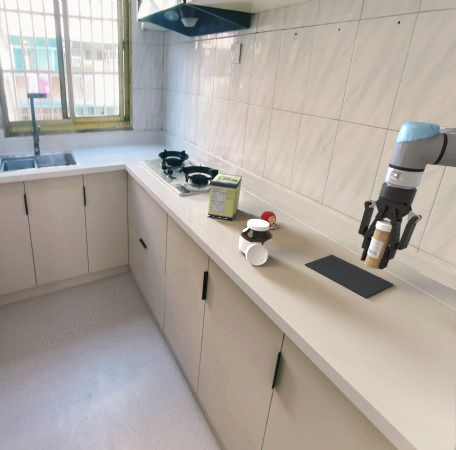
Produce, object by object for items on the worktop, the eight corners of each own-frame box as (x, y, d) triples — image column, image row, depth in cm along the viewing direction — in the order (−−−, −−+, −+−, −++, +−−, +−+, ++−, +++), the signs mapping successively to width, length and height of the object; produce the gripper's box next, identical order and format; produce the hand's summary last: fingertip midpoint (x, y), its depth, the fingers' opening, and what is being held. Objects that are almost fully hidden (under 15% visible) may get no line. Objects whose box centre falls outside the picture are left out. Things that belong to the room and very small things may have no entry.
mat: (393, 285, 99) (394, 283, 99) (366, 298, 92) (366, 297, 92) (331, 255, 115) (332, 254, 115) (304, 265, 108) (304, 263, 108)
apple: (280, 226, 137) (283, 211, 134) (272, 231, 131) (275, 216, 128) (262, 220, 141) (264, 205, 139) (253, 225, 136) (255, 210, 133)
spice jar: (385, 269, 94) (401, 226, 89) (369, 269, 94) (384, 225, 89) (374, 261, 99) (389, 219, 93) (359, 261, 98) (373, 218, 93)
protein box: (237, 209, 153) (242, 175, 147) (231, 221, 140) (236, 185, 133) (215, 205, 156) (218, 172, 150) (207, 216, 143) (210, 181, 137)
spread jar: (257, 247, 119) (262, 216, 114) (280, 262, 109) (287, 229, 105) (229, 253, 114) (233, 221, 109) (251, 269, 105) (257, 235, 100)
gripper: (358, 177, 92) (336, 253, 101) (432, 197, 78) (399, 282, 87) (374, 174, 95) (351, 248, 105) (447, 192, 81) (413, 275, 91)
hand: (373, 263), depth 96 cm, fingers closed on spice jar, 4 cm apart
